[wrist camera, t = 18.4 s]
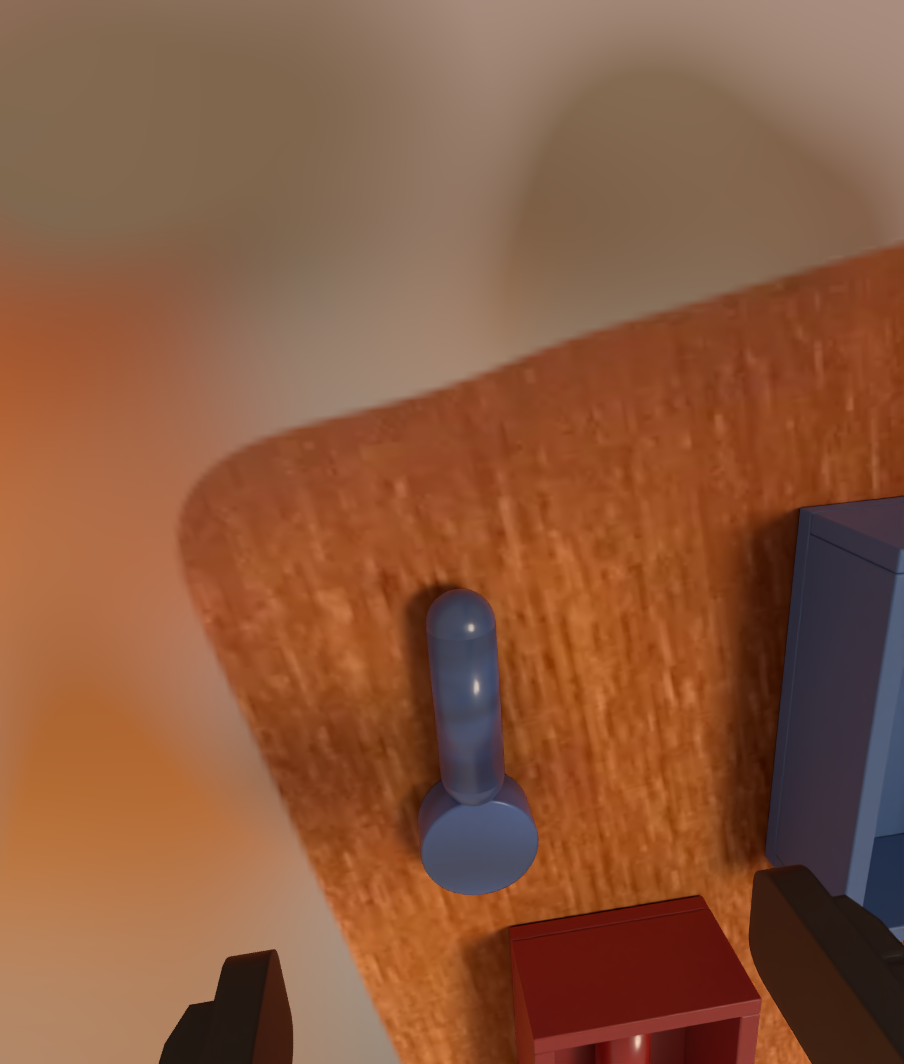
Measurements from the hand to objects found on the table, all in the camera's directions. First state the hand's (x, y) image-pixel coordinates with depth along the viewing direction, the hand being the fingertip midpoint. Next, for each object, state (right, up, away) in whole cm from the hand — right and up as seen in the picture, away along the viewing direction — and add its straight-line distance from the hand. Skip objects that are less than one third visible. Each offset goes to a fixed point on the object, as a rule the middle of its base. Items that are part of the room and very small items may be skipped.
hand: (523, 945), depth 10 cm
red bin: (+5, -12, +12) cm, 18 cm away
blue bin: (+12, +2, +9) cm, 15 cm away
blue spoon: (-1, +1, +8) cm, 8 cm away
